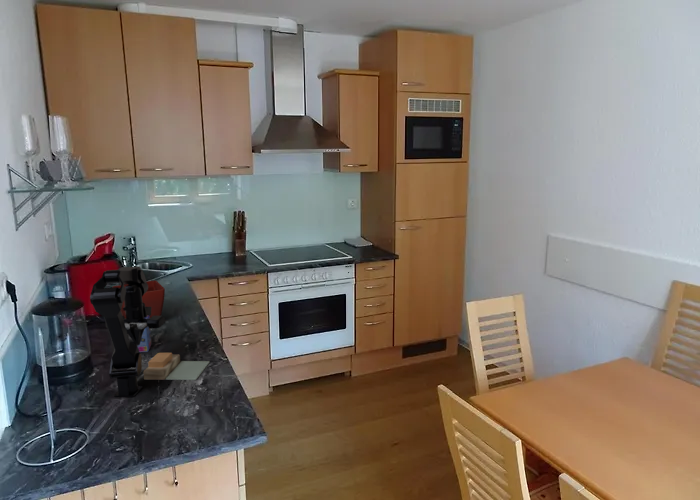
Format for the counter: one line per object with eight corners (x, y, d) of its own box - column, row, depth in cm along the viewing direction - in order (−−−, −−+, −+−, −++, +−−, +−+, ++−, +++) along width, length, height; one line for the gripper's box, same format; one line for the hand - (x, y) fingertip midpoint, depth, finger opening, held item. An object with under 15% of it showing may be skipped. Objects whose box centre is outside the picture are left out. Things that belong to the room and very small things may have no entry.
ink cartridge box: (149, 351, 190) (145, 316, 187) (134, 353, 189) (130, 317, 186) (152, 342, 199) (149, 308, 196) (137, 344, 198) (134, 309, 195)
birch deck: (164, 379, 166) (163, 371, 166) (144, 379, 167) (143, 371, 166) (180, 362, 180) (179, 354, 180) (161, 361, 180) (161, 354, 180)
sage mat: (196, 379, 166) (196, 378, 166) (165, 379, 166) (165, 378, 166) (209, 362, 180) (209, 361, 179) (181, 362, 180) (181, 361, 180)
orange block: (162, 367, 169) (162, 362, 168) (148, 367, 169) (148, 362, 169) (172, 357, 177) (171, 352, 176) (158, 357, 177) (158, 352, 177)
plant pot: (159, 313, 235) (156, 279, 231) (168, 324, 219) (165, 288, 216) (116, 321, 225) (111, 286, 221) (122, 334, 209) (118, 296, 206)
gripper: (169, 295, 176) (173, 336, 179) (119, 295, 177) (123, 336, 180) (156, 305, 165) (160, 348, 168) (102, 305, 166) (107, 348, 169)
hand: (138, 344), depth 172 cm, fingers closed
